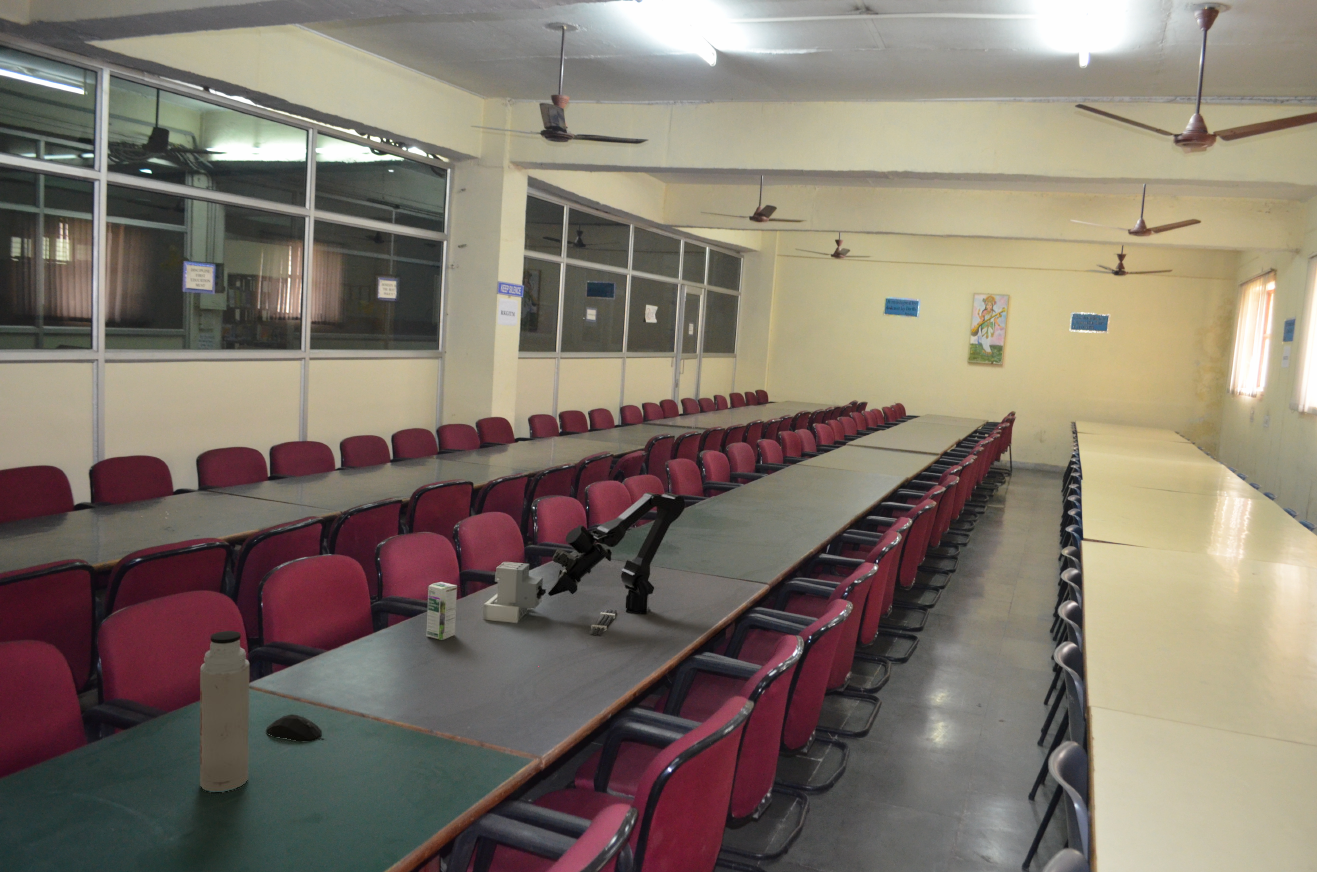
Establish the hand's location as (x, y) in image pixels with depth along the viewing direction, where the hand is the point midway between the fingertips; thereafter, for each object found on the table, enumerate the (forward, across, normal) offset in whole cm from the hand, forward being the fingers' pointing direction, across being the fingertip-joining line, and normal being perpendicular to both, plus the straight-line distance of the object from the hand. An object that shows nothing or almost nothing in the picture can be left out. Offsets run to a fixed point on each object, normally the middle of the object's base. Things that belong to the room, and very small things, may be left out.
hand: (549, 594), depth 269 cm
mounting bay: (+13, 0, -4) cm, 13 cm away
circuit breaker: (+11, 0, -1) cm, 11 cm away
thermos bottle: (+41, +104, -32) cm, 116 cm away
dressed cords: (-7, +5, +16) cm, 19 cm away
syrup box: (+25, +21, -15) cm, 36 cm away
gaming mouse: (+37, +84, -27) cm, 95 cm away
